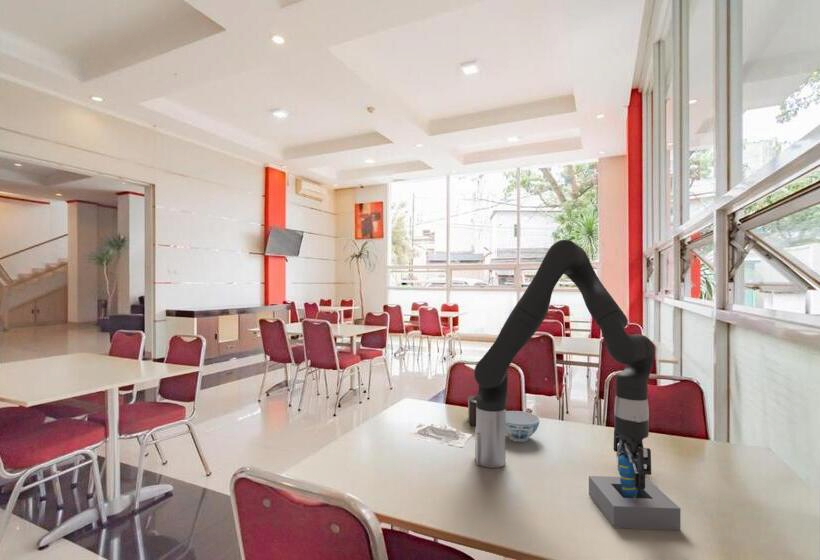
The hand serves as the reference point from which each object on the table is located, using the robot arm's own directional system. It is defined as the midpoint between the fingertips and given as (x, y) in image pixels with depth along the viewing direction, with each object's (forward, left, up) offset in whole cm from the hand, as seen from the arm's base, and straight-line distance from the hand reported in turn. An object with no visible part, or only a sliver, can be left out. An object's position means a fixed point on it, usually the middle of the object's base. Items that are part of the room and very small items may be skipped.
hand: (631, 480), depth 102 cm
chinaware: (-18, +47, -8) cm, 51 cm away
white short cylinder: (+11, +26, -8) cm, 29 cm away
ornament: (0, 0, -8) cm, 8 cm away
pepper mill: (-29, +66, -8) cm, 73 cm away
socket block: (0, 0, -8) cm, 8 cm away
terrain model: (-47, +47, -8) cm, 67 cm away
